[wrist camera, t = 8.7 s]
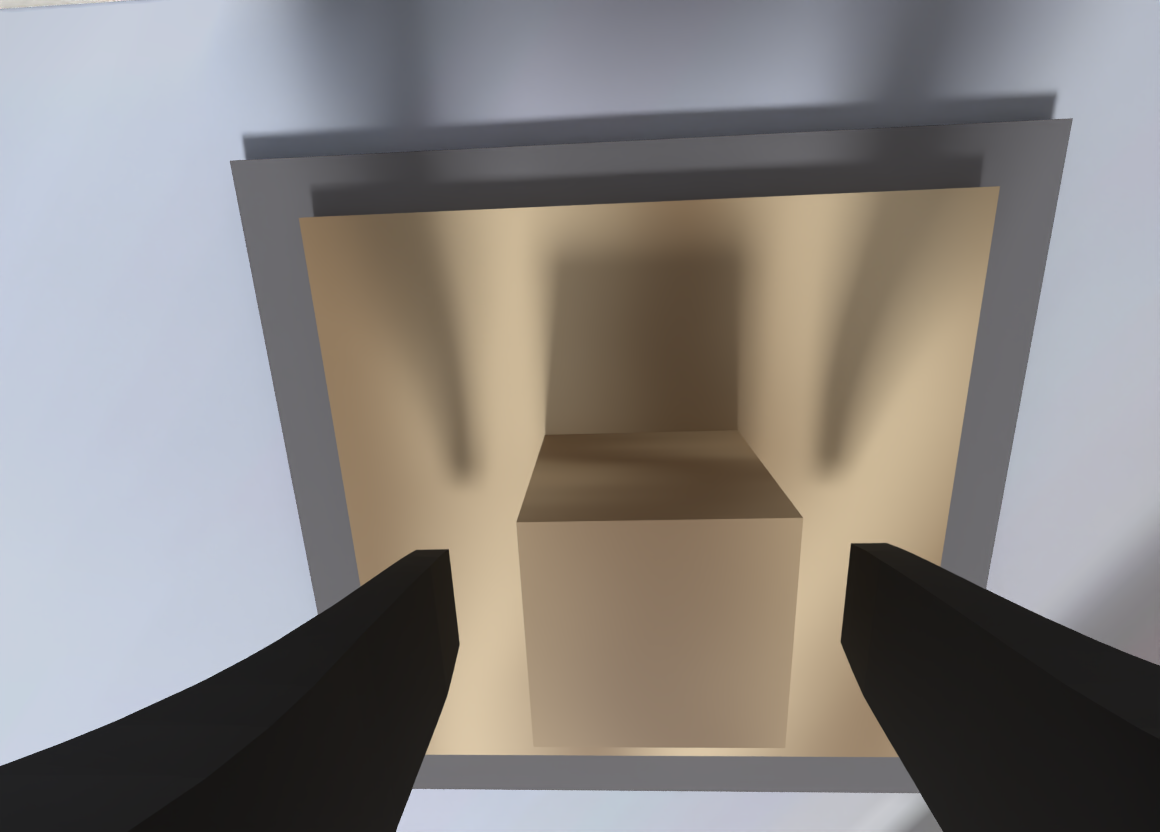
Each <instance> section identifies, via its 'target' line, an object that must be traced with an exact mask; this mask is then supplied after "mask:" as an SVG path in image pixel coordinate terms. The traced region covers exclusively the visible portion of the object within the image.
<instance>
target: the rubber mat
mask: <svg viewBox="0 0 1160 832" xmlns="http://www.w3.org/2000/svg"><path fill="white" fill-rule="evenodd" d="M1072 119H1073V118H1071V119H1052V120H1032V121H1012V122H992V123H972V124H952V125H932V126H912V127H892V128H872V129H852V130H833V131H813V132H793V133H773V134H753V135H733V136H713V137H693V138H673V139H653V140H633V141H613V142H594V143H574V144H554V145H534V146H514V147H494V148H474V149H454V150H434V151H414V152H394V153H375V154H355V155H335V156H315V157H295V158H275V159H255V160H235V161H230V164H231V169H232V175H233V180H234V185H235V190H236V195H237V200H238V205H239V211H240V216H241V221H242V226H243V231H244V236H245V241H246V247H247V252H248V257H249V262H250V267H251V272H252V277H253V283H254V288H255V293H256V298H257V303H258V308H259V313H260V319H261V324H262V329H263V334H264V339H265V344H266V349H267V355H268V360H269V365H270V370H271V375H272V380H273V385H274V391H275V396H276V401H277V406H278V411H279V416H280V421H281V427H282V432H283V437H284V442H285V447H286V452H287V457H288V463H289V468H290V473H291V478H292V483H293V488H294V493H295V499H296V504H297V509H298V514H299V519H300V524H301V529H302V534H303V540H304V545H305V550H306V555H307V560H308V565H309V570H310V576H311V581H312V586H313V591H314V596H315V601H316V606H317V612H318V615H319V614H320V613H322V612H323V611H325V610H327V609H328V608H330V607H331V606H333V605H334V604H336V603H337V602H339V601H340V600H342V599H343V598H345V597H346V596H347V595H349V594H350V593H352V592H353V591H355V590H356V589H358V588H359V587H361V586H360V580H359V574H358V568H357V562H356V556H355V550H354V544H353V538H352V532H351V526H350V520H349V514H348V509H347V503H346V497H345V491H344V485H343V479H342V473H341V467H340V461H339V455H338V449H337V443H336V437H335V431H334V425H333V419H332V413H331V407H330V401H329V395H328V389H327V383H326V377H325V371H324V365H323V360H322V354H321V348H320V342H319V336H318V330H317V324H316V318H315V312H314V306H313V300H312V294H311V288H310V282H309V276H308V270H307V264H306V258H305V252H304V246H303V240H302V234H301V228H300V222H299V218H304V217H327V216H349V215H371V214H394V213H416V212H438V211H461V210H483V209H505V208H527V207H550V206H572V205H594V204H617V203H639V202H661V201H684V200H706V199H728V198H751V197H773V196H795V195H817V194H840V193H862V192H884V191H907V190H929V189H951V188H974V187H996V186H1000V190H999V196H998V202H997V209H996V215H995V222H994V228H993V234H992V241H991V247H990V253H989V260H988V266H987V273H986V279H985V285H984V292H983V298H982V304H981V311H980V317H979V324H978V330H977V336H976V343H975V349H974V356H973V362H972V368H971V375H970V381H969V387H968V394H967V400H966V407H965V413H964V419H963V426H962V432H961V438H960V445H959V451H958V458H957V464H956V470H955V477H954V483H953V489H952V496H951V502H950V509H949V515H948V521H947V528H946V534H945V540H944V547H943V553H942V560H941V566H940V567H942V568H944V569H946V570H948V571H950V572H952V573H954V574H956V575H958V576H960V577H962V578H964V579H966V580H968V581H970V582H972V583H974V584H976V585H978V586H980V587H982V588H984V589H986V585H987V579H988V574H989V569H990V563H991V558H992V552H993V547H994V541H995V536H996V531H997V525H998V520H999V514H1000V509H1001V504H1002V498H1003V493H1004V487H1005V482H1006V477H1007V471H1008V466H1009V460H1010V455H1011V449H1012V444H1013V439H1014V433H1015V428H1016V422H1017V417H1018V412H1019V406H1020V401H1021V395H1022V390H1023V384H1024V379H1025V374H1026V368H1027V363H1028V357H1029V352H1030V347H1031V341H1032V336H1033V330H1034V325H1035V319H1036V314H1037V309H1038V303H1039V298H1040V292H1041V287H1042V282H1043V276H1044V271H1045V265H1046V260H1047V254H1048V249H1049V244H1050V238H1051V233H1052V227H1053V222H1054V217H1055V211H1056V206H1057V200H1058V195H1059V189H1060V184H1061V179H1062V173H1063V168H1064V162H1065V157H1066V152H1067V146H1068V141H1069V135H1070V130H1071V125H1072ZM412 789H504V790H619V791H734V792H849V793H920V792H919V790H918V788H917V787H916V785H915V783H914V782H913V780H912V778H911V777H910V775H909V773H908V772H907V770H906V768H905V767H904V765H903V763H902V761H901V760H900V758H899V757H781V756H594V755H425V757H424V759H423V762H422V764H421V767H420V770H419V772H418V775H417V777H416V780H415V783H414V785H413V788H412Z"/></svg>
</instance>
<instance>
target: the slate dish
mask: <svg viewBox="0 0 1160 832" xmlns="http://www.w3.org/2000/svg"><path fill="white" fill-rule="evenodd" d="M115 1H130V0H0V9H9V8H24V7H39V6H54V5H69V4H84V3H100V2H115Z"/></svg>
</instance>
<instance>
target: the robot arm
mask: <svg viewBox="0 0 1160 832" xmlns="http://www.w3.org/2000/svg"><path fill="white" fill-rule="evenodd" d="M840 642H841V645H842V647H843V650H844V652H845V655H846V657H847V659H848V662H849V664H850V667H851V669H852V672H853V674H854V676H855V678H856V681H857V683H858V685H859V687H860V690H861V692H862V694H863V696H864V698H865V700H866V702H867V703H868V705H869V707H870V709H871V710H872V712H873V714H874V716H875V717H876V719H877V721H878V722H879V724H880V726H881V728H882V729H883V731H884V733H885V734H886V736H887V738H888V740H889V741H890V743H891V745H892V746H893V748H894V750H895V751H896V753H897V755H898V756H899V758H900V760H901V761H902V763H903V765H904V767H905V768H906V770H907V772H908V773H909V775H910V777H911V778H912V780H913V782H914V783H915V785H916V787H917V788H918V790H919V792H920V793H921V795H922V797H923V799H924V800H925V802H926V804H927V805H928V807H929V809H930V810H931V812H932V814H933V815H934V817H935V819H936V820H937V822H938V824H939V825H940V827H941V829H942V831H943V832H1160V666H1159V665H1156V664H1154V663H1151V662H1149V661H1146V660H1143V659H1141V658H1138V657H1136V656H1133V655H1130V654H1128V653H1125V652H1123V651H1121V650H1118V649H1116V648H1113V647H1111V646H1108V645H1106V644H1104V643H1101V642H1099V641H1097V640H1094V639H1092V638H1090V637H1087V636H1085V635H1083V634H1081V633H1078V632H1076V631H1074V630H1072V629H1069V628H1067V627H1065V626H1063V625H1061V624H1058V623H1056V622H1054V621H1052V620H1049V619H1047V618H1045V617H1043V616H1041V615H1038V614H1036V613H1034V612H1032V611H1030V610H1028V609H1026V608H1023V607H1021V606H1019V605H1017V604H1015V603H1013V602H1011V601H1009V600H1007V599H1005V598H1003V597H1001V596H999V595H996V594H994V593H992V592H990V591H988V590H986V589H984V588H982V587H980V586H978V585H976V584H974V583H972V582H970V581H968V580H966V579H964V578H962V577H960V576H958V575H956V574H954V573H952V572H950V571H948V570H946V569H944V568H942V567H940V566H938V565H936V564H934V563H932V562H930V561H928V560H925V559H923V558H921V557H919V556H917V555H915V554H913V553H910V552H908V551H906V550H904V549H901V548H899V547H896V546H894V545H891V544H888V543H851V547H850V557H849V566H848V575H847V585H846V594H845V604H844V613H843V623H842V632H841V641H840ZM459 646H460V641H459V633H458V624H457V615H456V607H455V598H454V589H453V581H452V572H451V563H450V555H449V549H429V550H415V551H413V552H411V553H409V554H408V555H406V556H404V557H403V558H401V559H400V560H398V561H397V562H395V563H394V564H392V565H391V566H389V567H388V568H387V569H385V570H384V571H382V572H381V573H379V574H378V575H376V576H375V577H374V578H372V579H371V580H369V581H368V582H366V583H365V584H363V585H362V586H361V587H359V588H358V589H356V590H355V591H353V592H352V593H350V594H349V595H347V596H346V597H345V598H343V599H342V600H340V601H339V602H337V603H336V604H334V605H333V606H331V607H330V608H328V609H327V610H325V611H323V612H322V613H320V614H319V615H317V616H316V617H314V618H312V619H311V620H309V621H308V622H306V623H304V624H303V625H301V626H300V627H298V628H297V629H295V630H293V631H292V632H290V633H289V634H287V635H285V636H284V637H282V638H281V639H279V640H277V641H276V642H274V643H272V644H271V645H269V646H267V647H265V648H264V649H262V650H260V651H258V652H257V653H255V654H253V655H251V656H249V657H248V658H246V659H244V660H242V661H240V662H238V663H236V664H235V665H233V666H231V667H229V668H227V669H225V670H223V671H221V672H219V673H217V674H216V675H214V676H212V677H210V678H208V679H206V680H204V681H202V682H200V683H198V684H196V685H194V686H192V687H189V688H187V689H185V690H183V691H181V692H178V693H176V694H174V695H172V696H170V697H168V698H165V699H163V700H161V701H159V702H157V703H154V704H152V705H150V706H148V707H146V708H144V709H141V710H139V711H137V712H135V713H133V714H130V715H128V716H126V717H124V718H122V719H119V720H117V721H115V722H112V723H110V724H108V725H105V726H103V727H100V728H98V729H95V730H93V731H90V732H88V733H85V734H83V735H81V736H78V737H76V738H73V739H71V740H68V741H66V742H63V743H61V744H58V745H55V746H53V747H50V748H47V749H45V750H42V751H39V752H37V753H34V754H32V755H29V756H26V757H24V758H21V759H18V760H16V761H13V762H10V763H8V764H5V765H2V766H0V832H396V830H397V827H398V824H399V821H400V819H401V816H402V814H403V811H404V808H405V806H406V803H407V801H408V798H409V796H410V793H411V790H412V788H413V785H414V783H415V780H416V777H417V775H418V772H419V770H420V767H421V764H422V762H423V759H424V757H425V754H426V752H427V749H428V746H429V744H430V741H431V739H432V736H433V733H434V731H435V728H436V725H437V723H438V720H439V717H440V715H441V712H442V709H443V707H444V704H445V701H446V699H447V695H448V692H449V688H450V684H451V680H452V676H453V672H454V668H455V663H456V659H457V655H458V650H459Z"/></svg>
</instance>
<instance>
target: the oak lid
mask: <svg viewBox="0 0 1160 832" xmlns="http://www.w3.org/2000/svg"><path fill="white" fill-rule="evenodd" d="M999 190H1000V186H996V187H974V188H951V189H929V190H907V191H884V192H862V193H840V194H817V195H795V196H773V197H751V198H728V199H706V200H684V201H661V202H639V203H617V204H594V205H572V206H550V207H527V208H505V209H483V210H461V211H438V212H416V213H394V214H371V215H349V216H327V217H304V218H299V222H300V228H301V234H302V240H303V246H304V252H305V258H306V264H307V270H308V276H309V282H310V288H311V294H312V300H313V306H314V312H315V318H316V324H317V330H318V336H319V342H320V348H321V354H322V360H323V365H324V371H325V377H326V383H327V389H328V395H329V401H330V407H331V413H332V419H333V425H334V431H335V437H336V443H337V449H338V455H339V461H340V467H341V473H342V479H343V485H344V491H345V497H346V503H347V509H348V514H349V520H350V526H351V532H352V538H353V544H354V550H355V556H356V562H357V568H358V574H359V580H360V586H362V585H363V584H365V583H366V582H368V581H369V580H371V579H372V578H374V577H375V576H376V575H378V574H379V573H381V572H382V571H384V570H385V569H387V568H388V567H389V566H391V565H392V564H394V563H395V562H397V561H398V560H400V559H401V558H403V557H404V556H406V555H408V554H409V553H411V552H413V551H415V550H429V549H449V555H450V563H451V572H452V581H453V589H454V598H455V607H456V615H457V624H458V633H459V641H460V646H459V650H458V655H457V659H456V663H455V668H454V672H453V676H452V680H451V684H450V688H449V692H448V695H447V699H446V701H445V704H444V707H443V709H442V712H441V715H440V717H439V720H438V723H437V725H436V728H435V731H434V733H433V736H432V739H431V741H430V744H429V746H428V749H427V752H426V754H425V755H594V756H781V757H899V756H898V755H897V753H896V751H895V750H894V748H893V746H892V745H891V743H890V741H889V740H888V738H887V736H886V734H885V733H884V731H883V729H882V728H881V726H880V724H879V722H878V721H877V719H876V717H875V716H874V714H873V712H872V710H871V709H870V707H869V705H868V703H867V702H866V700H865V698H864V696H863V694H862V692H861V690H860V687H859V685H858V683H857V681H856V678H855V676H854V674H853V672H852V669H851V667H850V664H849V662H848V659H847V657H846V655H845V652H844V650H843V647H842V645H841V642H840V641H841V632H842V623H843V613H844V604H845V594H846V585H847V575H848V566H849V557H850V547H851V543H888V544H891V545H894V546H896V547H899V548H901V549H904V550H906V551H908V552H910V553H913V554H915V555H917V556H919V557H921V558H923V559H925V560H928V561H930V562H932V563H934V564H936V565H938V566H941V560H942V553H943V547H944V540H945V534H946V528H947V521H948V515H949V509H950V502H951V496H952V489H953V483H954V477H955V470H956V464H957V458H958V451H959V445H960V438H961V432H962V426H963V419H964V413H965V407H966V400H967V394H968V387H969V381H970V375H971V368H972V362H973V356H974V349H975V343H976V336H977V330H978V324H979V317H980V311H981V304H982V298H983V292H984V285H985V279H986V273H987V266H988V260H989V253H990V247H991V241H992V234H993V228H994V222H995V215H996V209H997V202H998V196H999Z"/></svg>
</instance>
